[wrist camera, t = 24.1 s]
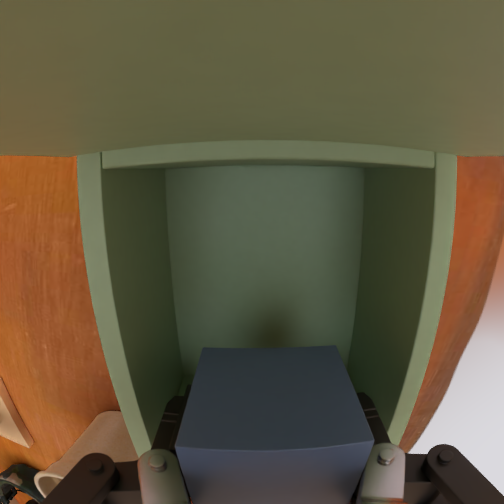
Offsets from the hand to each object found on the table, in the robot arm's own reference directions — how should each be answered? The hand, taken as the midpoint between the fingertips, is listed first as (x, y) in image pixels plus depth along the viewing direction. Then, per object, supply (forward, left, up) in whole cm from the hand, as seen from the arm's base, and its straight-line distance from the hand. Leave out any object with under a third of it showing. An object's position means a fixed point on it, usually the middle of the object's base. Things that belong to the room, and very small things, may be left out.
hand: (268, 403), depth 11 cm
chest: (-3, 0, -7) cm, 7 cm away
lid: (-10, 0, +9) cm, 13 cm away
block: (0, 0, 0) cm, 0 cm away
